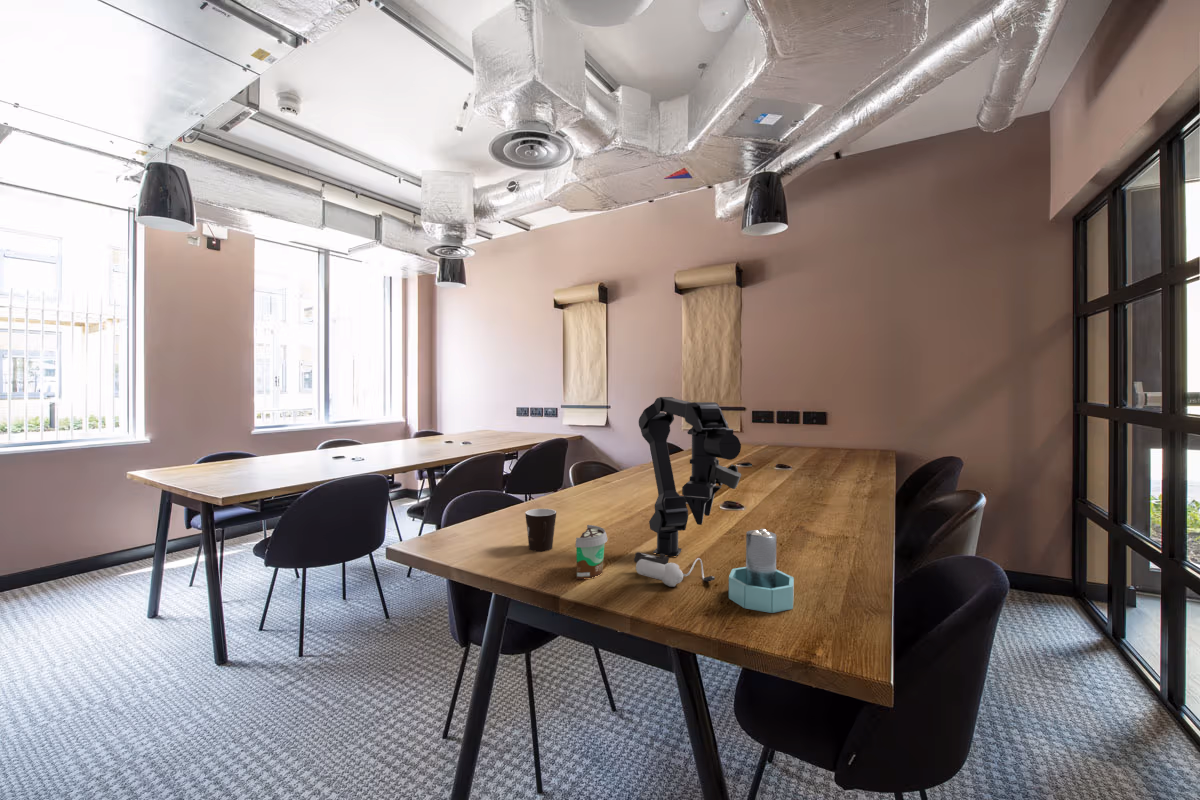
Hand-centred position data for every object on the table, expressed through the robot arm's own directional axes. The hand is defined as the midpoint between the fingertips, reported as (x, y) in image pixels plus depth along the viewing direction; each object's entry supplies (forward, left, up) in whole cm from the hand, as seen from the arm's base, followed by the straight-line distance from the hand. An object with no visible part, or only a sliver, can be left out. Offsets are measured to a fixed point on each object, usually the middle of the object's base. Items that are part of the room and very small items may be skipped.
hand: (703, 519), depth 116 cm
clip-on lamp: (+6, -6, -13) cm, 16 cm away
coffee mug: (0, -45, -13) cm, 47 cm away
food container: (+10, -24, -13) cm, 29 cm away
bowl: (+9, +14, -13) cm, 21 cm away
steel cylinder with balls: (+9, +14, -12) cm, 20 cm away
